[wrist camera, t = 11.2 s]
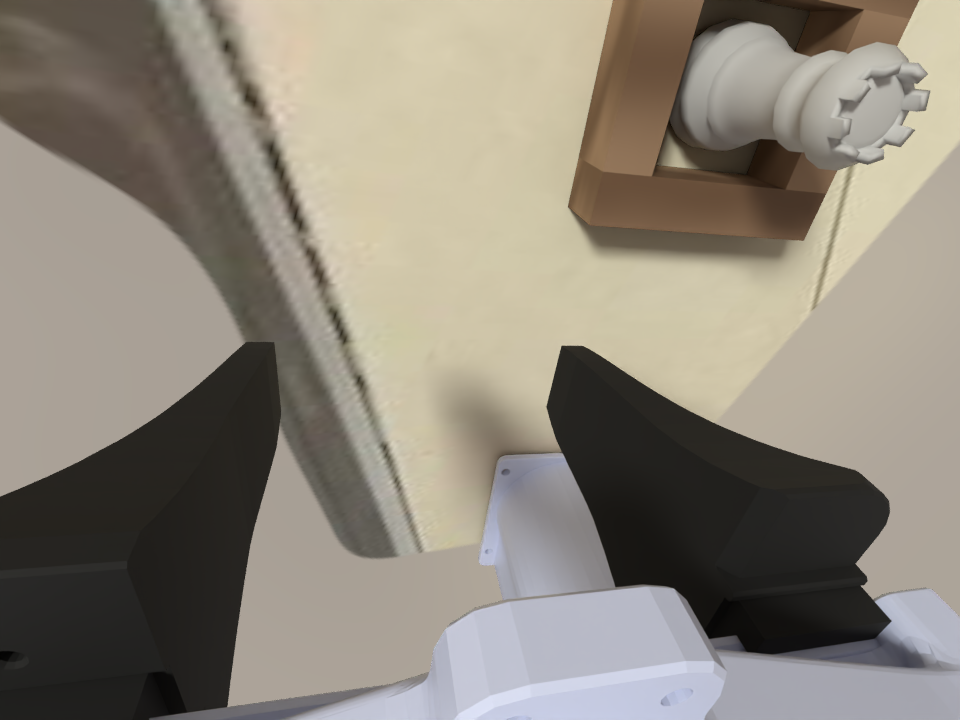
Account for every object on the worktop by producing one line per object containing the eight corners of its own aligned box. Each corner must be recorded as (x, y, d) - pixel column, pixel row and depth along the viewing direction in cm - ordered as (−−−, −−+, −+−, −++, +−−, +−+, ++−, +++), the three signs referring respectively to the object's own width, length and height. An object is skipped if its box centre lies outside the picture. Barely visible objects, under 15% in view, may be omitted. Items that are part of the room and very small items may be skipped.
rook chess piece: (785, 79, 20) (985, 103, 14) (699, 169, 22) (844, 230, 15) (730, -12, 18) (936, -34, 12) (638, 94, 20) (776, 127, 13)
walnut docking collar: (765, 222, 24) (803, 240, 22) (568, 206, 22) (589, 225, 19) (881, -46, 19) (945, -55, 17) (636, -104, 16) (675, -123, 14)
